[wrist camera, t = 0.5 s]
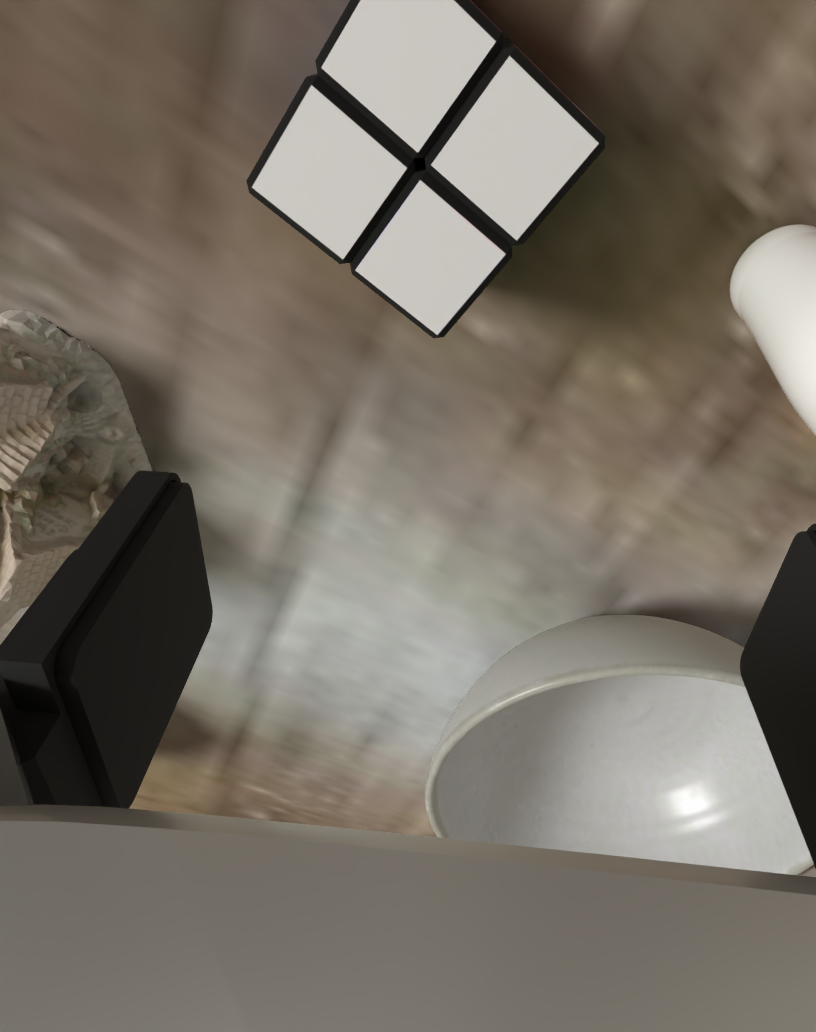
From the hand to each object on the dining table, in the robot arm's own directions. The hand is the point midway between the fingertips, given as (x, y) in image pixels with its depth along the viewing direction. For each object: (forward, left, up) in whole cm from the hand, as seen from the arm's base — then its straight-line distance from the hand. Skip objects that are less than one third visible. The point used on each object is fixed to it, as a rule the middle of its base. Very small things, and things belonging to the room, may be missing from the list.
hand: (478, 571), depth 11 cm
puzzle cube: (-2, -3, -31) cm, 31 cm away
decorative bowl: (+33, +16, -31) cm, 48 cm away
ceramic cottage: (+20, -25, -31) cm, 44 cm away
